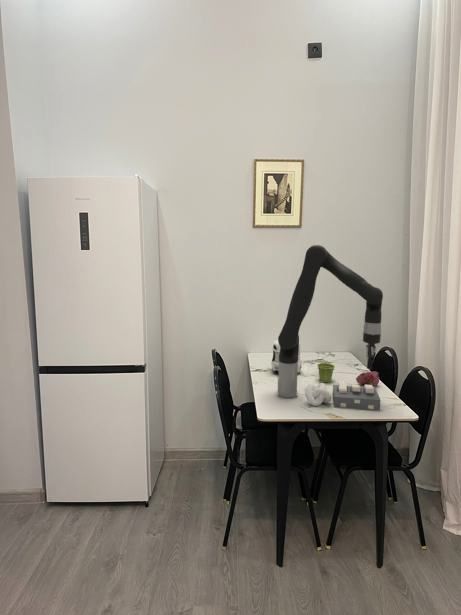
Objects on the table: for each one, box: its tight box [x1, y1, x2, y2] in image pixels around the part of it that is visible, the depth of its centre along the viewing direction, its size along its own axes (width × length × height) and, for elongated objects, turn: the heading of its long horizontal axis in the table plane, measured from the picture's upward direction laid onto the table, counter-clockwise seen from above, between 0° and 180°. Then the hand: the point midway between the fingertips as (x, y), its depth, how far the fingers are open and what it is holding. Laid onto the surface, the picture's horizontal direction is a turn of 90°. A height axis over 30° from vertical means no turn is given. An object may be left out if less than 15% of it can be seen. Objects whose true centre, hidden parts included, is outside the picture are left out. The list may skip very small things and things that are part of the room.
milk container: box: [270, 339, 302, 374], centre depth 232 cm, size 17×17×18 cm
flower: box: [355, 370, 380, 387], centre depth 210 cm, size 11×10×10 cm
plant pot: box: [316, 362, 336, 384], centre depth 218 cm, size 9×9×9 cm
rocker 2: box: [350, 384, 360, 392], centre depth 189 cm, size 3×7×2 cm, turn 168°
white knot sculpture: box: [304, 382, 332, 407], centre depth 188 cm, size 11×12×9 cm
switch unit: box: [332, 384, 382, 411], centre depth 189 cm, size 20×16×7 cm
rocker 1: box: [338, 380, 347, 393], centre depth 190 cm, size 3×7×2 cm, turn 168°
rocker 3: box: [363, 384, 374, 393], centre depth 188 cm, size 3×7×2 cm, turn 168°
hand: (369, 368), depth 184 cm, fingers closed
